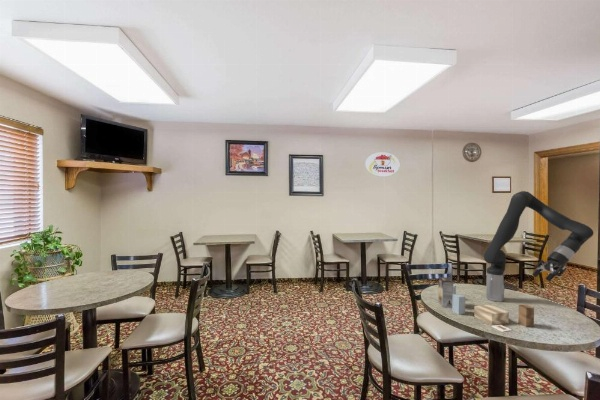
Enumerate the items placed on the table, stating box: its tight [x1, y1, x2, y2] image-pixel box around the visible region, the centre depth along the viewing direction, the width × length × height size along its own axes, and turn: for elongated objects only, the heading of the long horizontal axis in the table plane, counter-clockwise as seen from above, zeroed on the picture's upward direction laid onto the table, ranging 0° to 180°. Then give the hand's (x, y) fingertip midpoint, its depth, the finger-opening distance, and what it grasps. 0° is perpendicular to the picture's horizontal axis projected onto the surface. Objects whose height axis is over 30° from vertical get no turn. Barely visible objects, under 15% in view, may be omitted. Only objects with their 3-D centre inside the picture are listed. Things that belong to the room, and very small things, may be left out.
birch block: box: [473, 304, 509, 326], centre depth 154 cm, size 11×11×6 cm
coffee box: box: [437, 276, 454, 309], centre depth 175 cm, size 9×6×16 cm
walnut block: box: [518, 304, 535, 328], centre depth 148 cm, size 4×4×10 cm
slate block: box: [451, 293, 466, 316], centre depth 163 cm, size 4×4×10 cm
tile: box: [491, 324, 513, 333], centre depth 144 cm, size 6×6×1 cm
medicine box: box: [453, 284, 457, 295], centre depth 188 cm, size 8×4×9 cm, turn 47°
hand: (540, 277), depth 150 cm, fingers open, 8 cm apart
